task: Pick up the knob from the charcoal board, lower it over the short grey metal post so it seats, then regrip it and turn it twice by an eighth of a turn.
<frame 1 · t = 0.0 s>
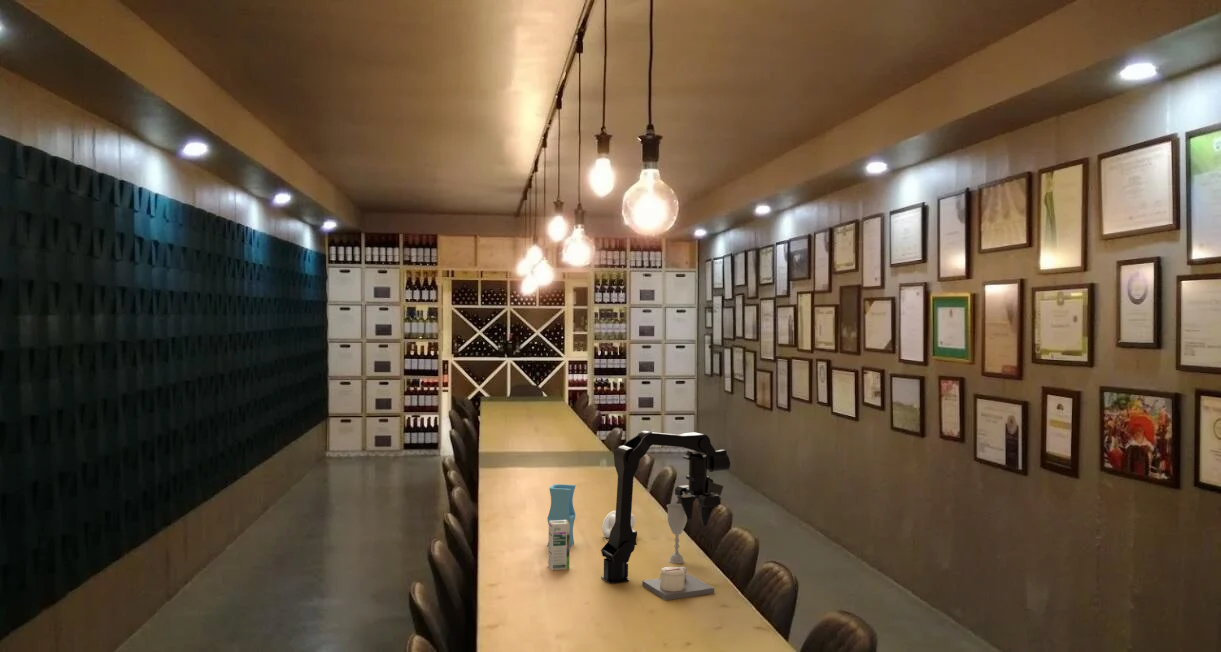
hand: (697, 522, 262), 15 cm above the table, tool pointing down, fingers open, 9 cm apart
chalice: (676, 561, 271), on the table
board: (677, 589, 242), on the table
syrup box: (558, 568, 262), on the table
white rounded lump: (617, 538, 299), on the table
vase: (561, 544, 289), on the table
knob: (672, 587, 239), point 1 cm above the table, touching board
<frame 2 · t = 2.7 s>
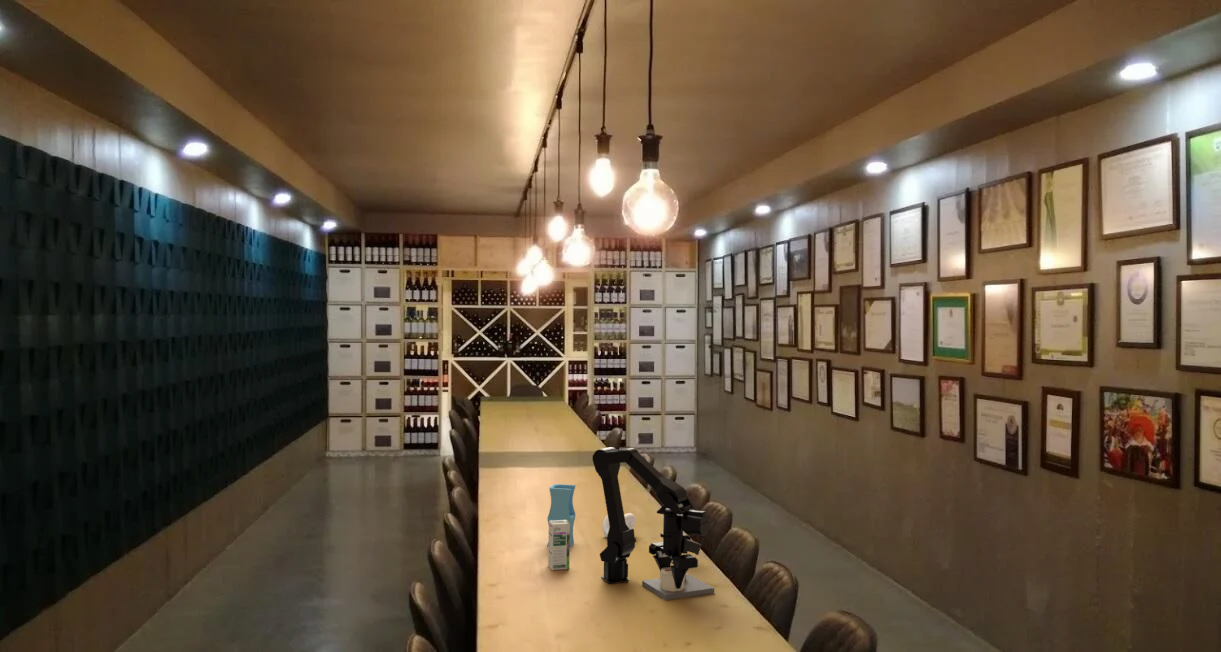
hand: (672, 585, 239), 2 cm above the table, tool pointing down, fingers closed on knob, 6 cm apart
knob: (672, 587, 239), point 2 cm above the table, touching board, gripper
everything else where it was.
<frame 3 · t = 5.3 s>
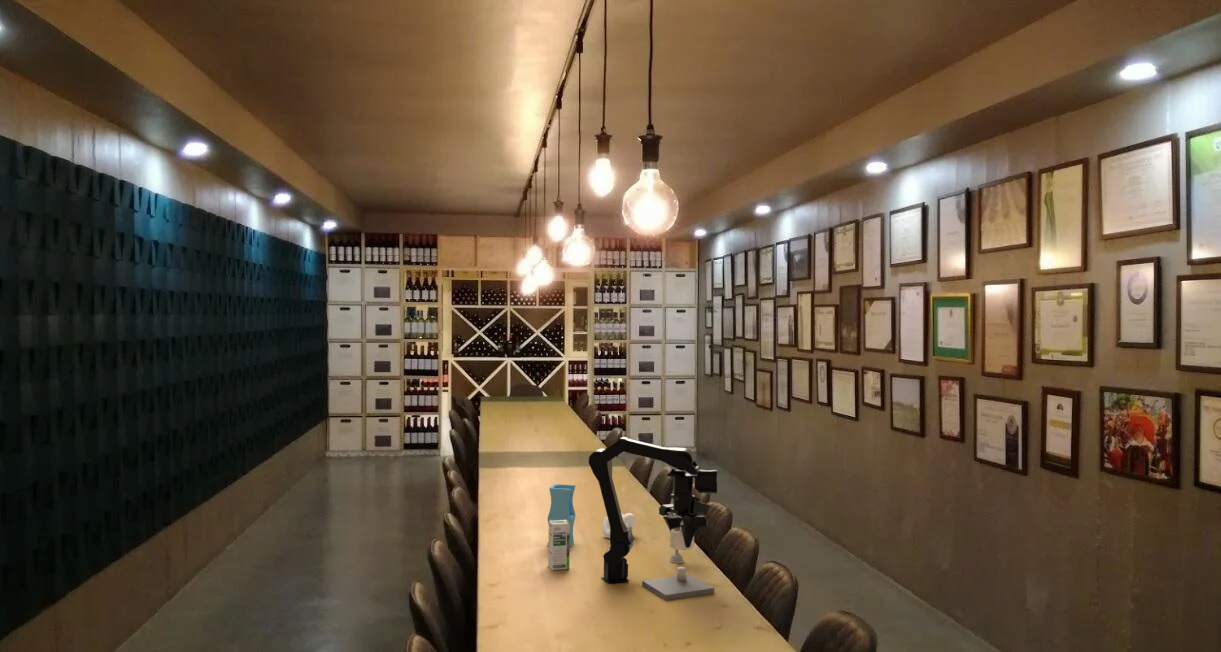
hand: (682, 544, 246), 12 cm above the table, tool pointing down, fingers closed on knob, 6 cm apart
knob: (682, 547, 246), point 11 cm above the table, touching gripper
everything else where it was.
when the fingers open (3 cm above the table, at t = 7.7 s): knob stays where it is, resting on board.
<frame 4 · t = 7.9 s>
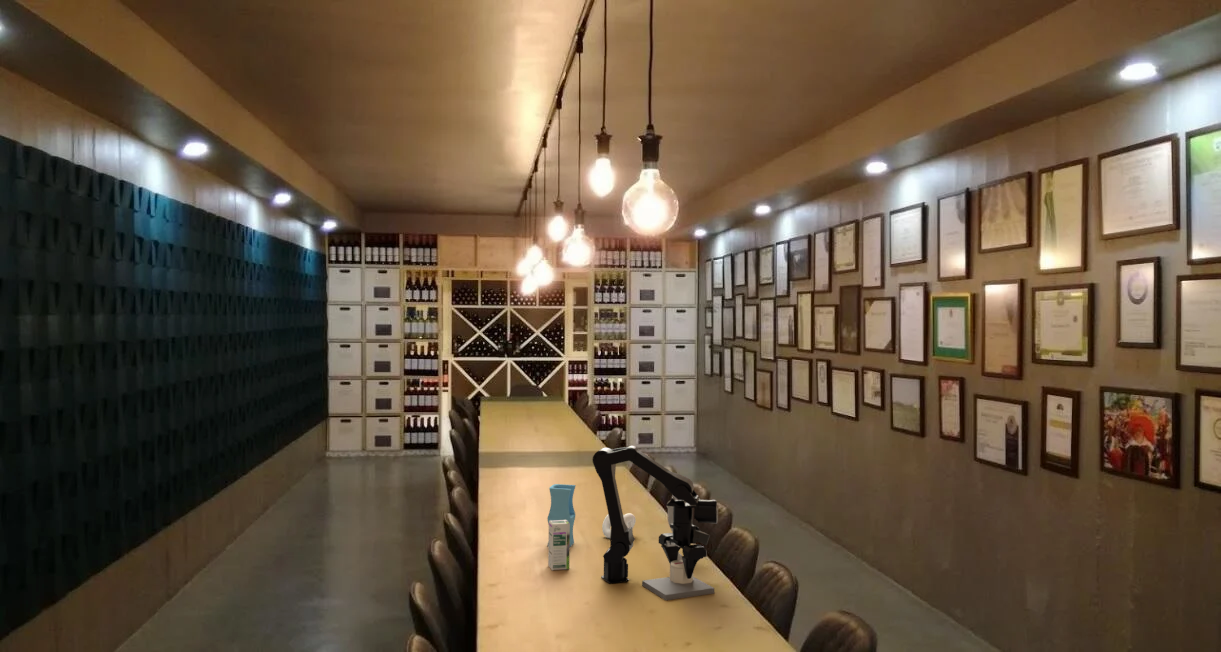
hand: (681, 574, 246), 3 cm above the table, tool pointing down, fingers open, 8 cm apart
knob: (681, 580, 246), point 1 cm above the table, touching board
everything else where it was.
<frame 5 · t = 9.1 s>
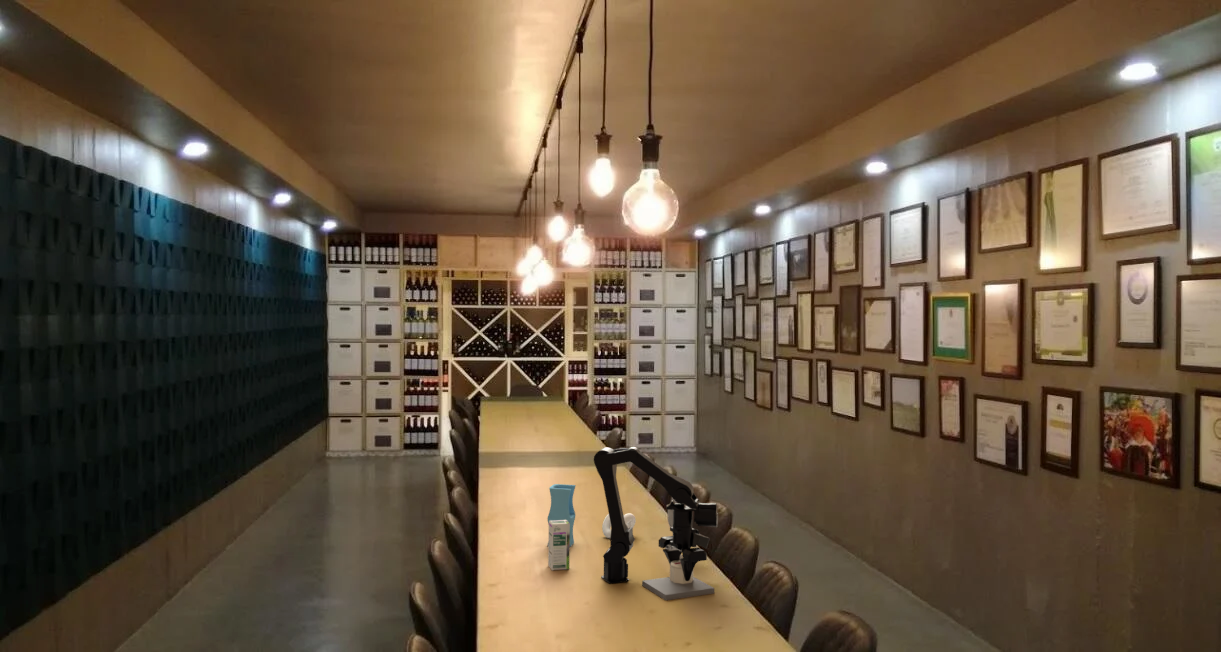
hand: (681, 577, 246), 2 cm above the table, tool pointing down, fingers closed on knob, 6 cm apart
knob: (681, 580, 246), point 1 cm above the table, touching board, gripper
everything else where it was.
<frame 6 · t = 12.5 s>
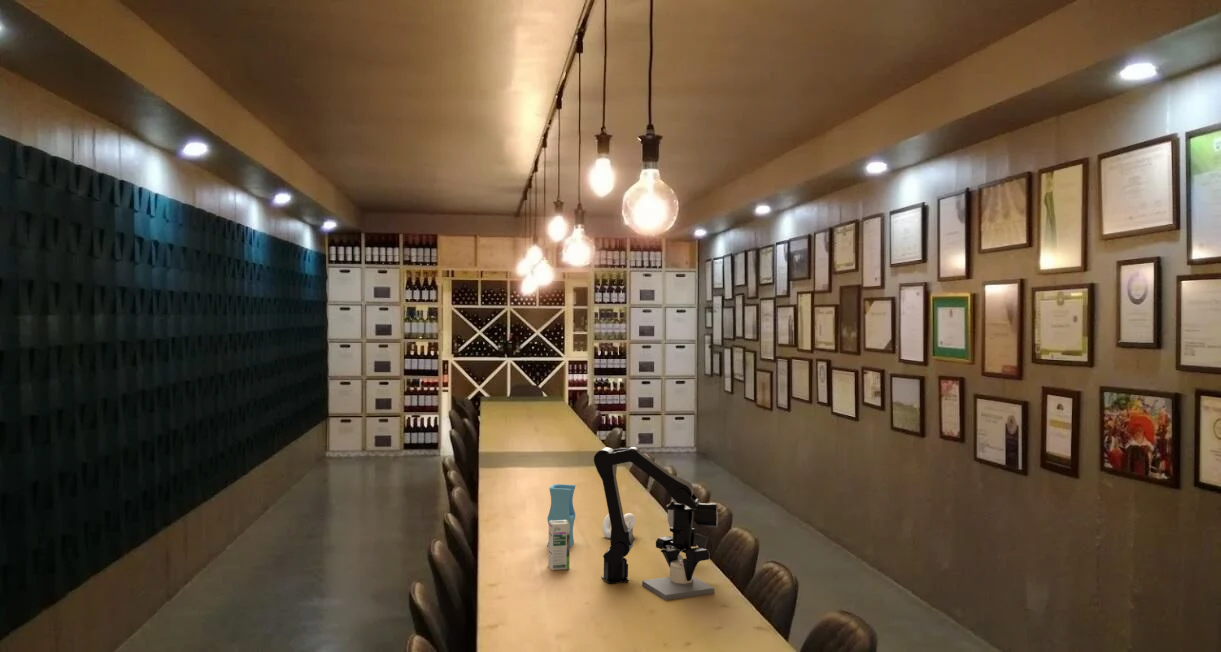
hand: (681, 577, 246), 2 cm above the table, tool pointing down, fingers closed on knob, 6 cm apart
knob: (681, 580, 246), point 2 cm above the table, touching gripper
everything else where it was.
when the fingers open (2 cm above the table, at t = 13.2 s): knob stays where it is, resting on board.
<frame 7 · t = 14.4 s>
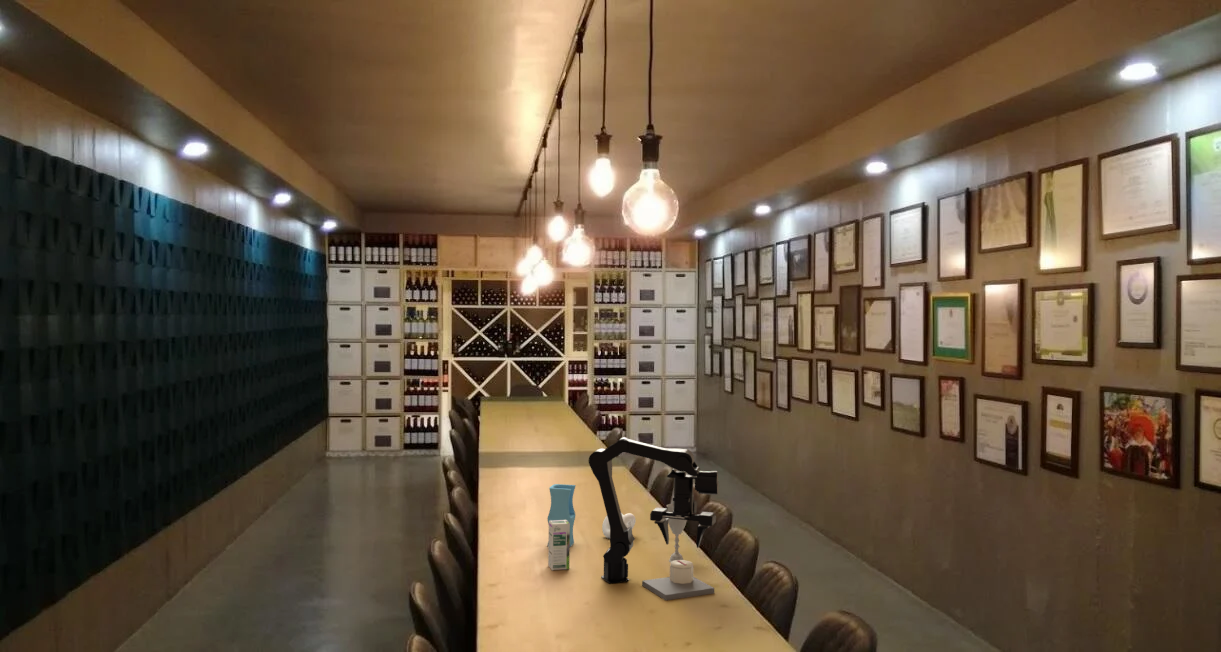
hand: (682, 545, 246), 12 cm above the table, tool pointing down, fingers open, 9 cm apart
knob: (681, 580, 246), point 1 cm above the table, touching board
everything else where it was.
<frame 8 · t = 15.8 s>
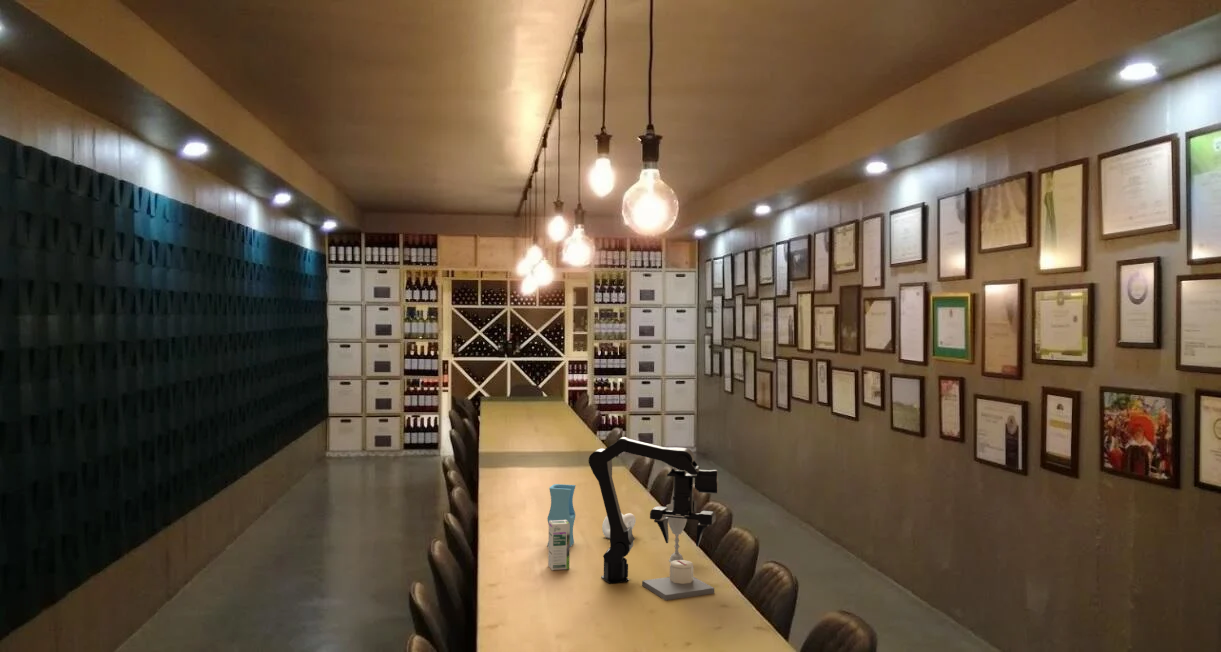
hand: (682, 544, 246), 12 cm above the table, tool pointing down, fingers open, 9 cm apart
nothing on the table moved.
at the end: knob 0.0 cm from the target spot on the board, point 1.5 cm above the board's base; knob tilted 0°; the gripper is holding nothing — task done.
